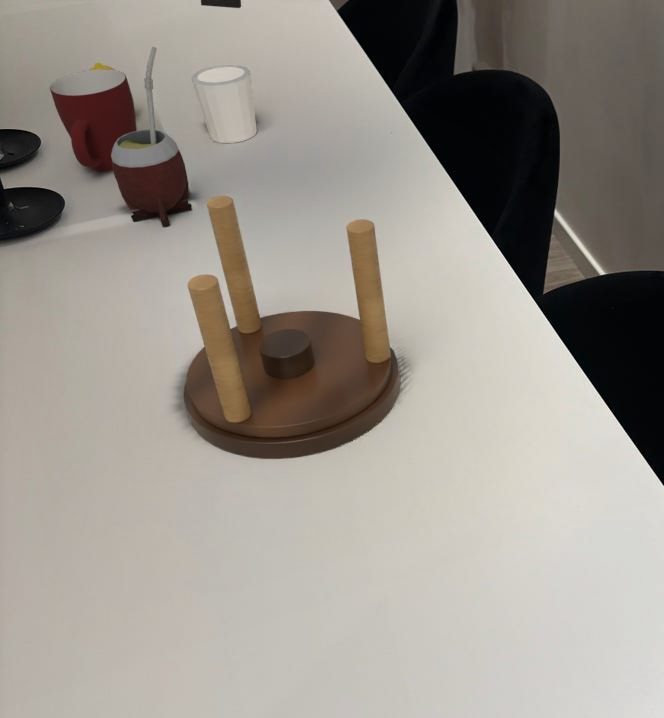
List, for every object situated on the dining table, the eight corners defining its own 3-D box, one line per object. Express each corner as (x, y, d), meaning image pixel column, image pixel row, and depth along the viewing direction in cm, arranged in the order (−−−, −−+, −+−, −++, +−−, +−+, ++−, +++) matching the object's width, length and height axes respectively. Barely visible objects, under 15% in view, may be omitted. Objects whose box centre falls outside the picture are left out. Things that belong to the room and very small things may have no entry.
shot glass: (242, 118, 121) (230, 59, 116) (272, 132, 117) (261, 72, 112) (194, 134, 118) (180, 75, 113) (224, 150, 114) (210, 88, 109)
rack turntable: (151, 422, 73) (101, 279, 64) (243, 312, 84) (210, 178, 76) (350, 450, 69) (324, 303, 61) (418, 331, 80) (403, 193, 72)
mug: (138, 195, 106) (110, 102, 99) (65, 199, 106) (32, 106, 99) (158, 156, 114) (134, 67, 107) (90, 159, 114) (61, 71, 107)
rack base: (173, 363, 81) (168, 347, 80) (365, 316, 86) (363, 301, 84) (208, 483, 70) (203, 467, 69) (429, 422, 74) (427, 406, 73)
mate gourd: (133, 235, 99) (85, 84, 89) (124, 204, 104) (78, 58, 94) (205, 220, 101) (167, 70, 90) (193, 190, 106) (155, 46, 96)
